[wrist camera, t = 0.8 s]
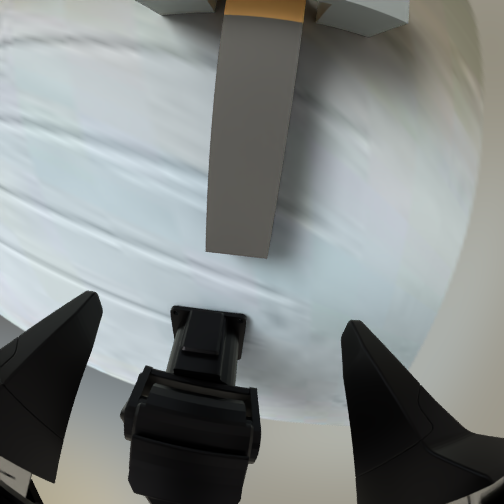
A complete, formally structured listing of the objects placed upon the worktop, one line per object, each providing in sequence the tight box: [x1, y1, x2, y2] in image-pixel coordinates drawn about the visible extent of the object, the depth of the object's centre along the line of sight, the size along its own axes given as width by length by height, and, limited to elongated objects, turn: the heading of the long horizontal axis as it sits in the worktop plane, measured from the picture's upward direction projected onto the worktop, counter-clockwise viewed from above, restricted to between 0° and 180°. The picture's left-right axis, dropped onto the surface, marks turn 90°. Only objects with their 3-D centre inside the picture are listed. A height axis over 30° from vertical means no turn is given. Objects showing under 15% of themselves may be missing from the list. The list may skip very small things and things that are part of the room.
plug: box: [206, 0, 306, 259], centre depth 13 cm, size 16×4×3 cm, turn 174°
